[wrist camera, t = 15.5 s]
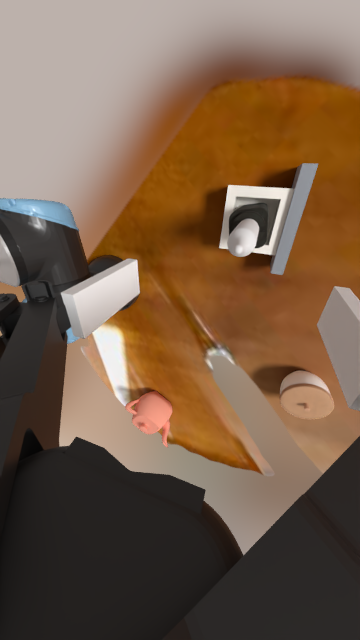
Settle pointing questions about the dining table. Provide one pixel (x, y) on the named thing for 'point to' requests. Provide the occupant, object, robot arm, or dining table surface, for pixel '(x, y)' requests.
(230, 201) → the socket block
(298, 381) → the lidded jar
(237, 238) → the candle
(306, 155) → the dining table surface
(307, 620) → the robot arm
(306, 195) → the backstop wall
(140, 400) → the teapot
